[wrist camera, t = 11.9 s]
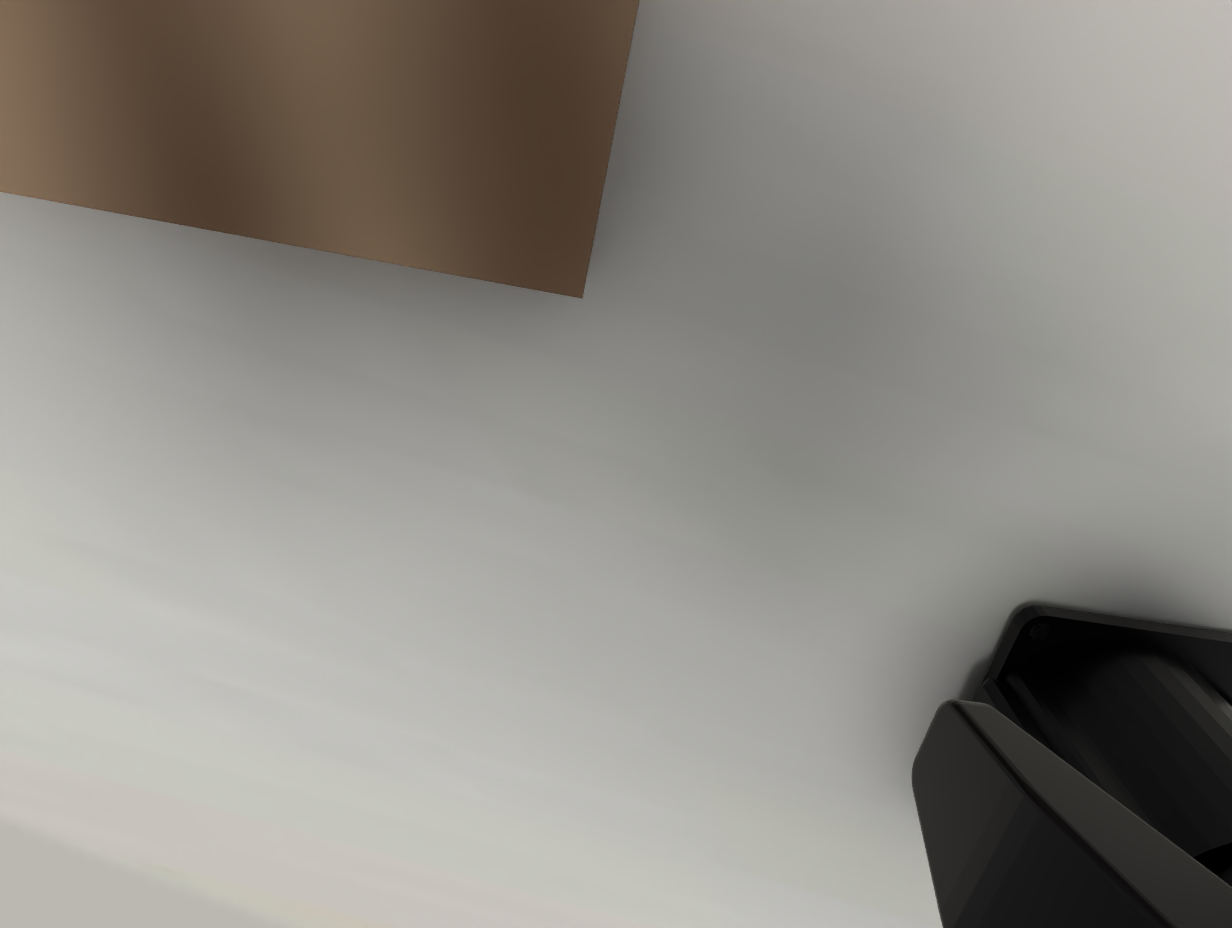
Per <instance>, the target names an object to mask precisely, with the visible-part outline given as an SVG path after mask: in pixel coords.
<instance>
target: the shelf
mask: <svg viewBox="0 0 1232 928" xmlns="http://www.w3.org/2000/svg"><path fill="white" fill-rule="evenodd" d="M638 4H639V0H0V192H5V193H11V194H16V195H22V196H27V197H33V198H38V199H44V200H49V201H54V202H60V203H65V204H71V205H76V206H82V207H87V208H93V209H98V210H104V211H109V212H114V213H120V214H125V215H131V216H136V217H142V218H147V219H153V220H158V221H163V222H169V223H174V224H180V225H185V226H191V227H196V228H202V229H207V230H212V231H218V232H223V233H229V234H234V235H240V236H245V237H251V238H256V239H262V240H267V241H272V242H278V243H283V244H289V245H294V246H300V247H305V248H311V249H316V250H321V251H327V252H332V253H338V254H343V255H349V256H354V257H360V258H365V259H370V260H376V261H381V262H387V263H392V264H398V265H403V266H409V267H414V268H420V269H425V270H430V271H436V272H441V273H447V274H452V275H458V276H463V277H469V278H474V279H479V280H485V281H490V282H496V283H501V284H507V285H512V286H518V287H523V288H528V289H534V290H539V291H545V292H550V293H556V294H561V295H567V296H572V297H578V298H582V297H583V292H584V287H585V282H586V276H587V271H588V266H589V261H590V255H591V250H592V245H593V240H594V234H595V229H596V224H597V219H598V213H599V208H600V203H601V198H602V192H603V187H604V182H605V177H606V171H607V166H608V161H609V156H610V150H611V145H612V140H613V135H614V129H615V124H616V119H617V114H618V108H619V103H620V98H621V93H622V87H623V82H624V77H625V72H626V67H627V61H628V56H629V51H630V46H631V40H632V35H633V30H634V25H635V19H636V14H637V9H638Z"/></svg>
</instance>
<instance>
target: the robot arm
mask: <svg viewBox="0 0 1232 928" xmlns="http://www.w3.org/2000/svg"><path fill="white" fill-rule="evenodd" d="M1038 624H1041V625H1040V627H1039V628H1038V629H1036V630H1034V631H1030V630H1031V629H1032V628H1033V627H1034V626H1036V625H1038ZM912 787H913V793H914V797H915V802H916V807H917V811H918V816H919V821H920V825H921V830H922V834H923V839H924V844H925V848H926V853H927V858H928V862H929V867H930V872H931V876H932V881H933V885H934V890H935V895H936V899H937V904H938V909H939V913H940V917H941V921H942V925H943V928H1232V634H1228V633H1221V632H1214V631H1208V630H1201V629H1194V628H1187V627H1181V626H1174V625H1167V624H1160V623H1153V622H1147V621H1140V620H1133V619H1126V618H1119V617H1113V616H1106V615H1099V614H1092V613H1086V612H1079V611H1072V610H1065V609H1058V608H1052V607H1045V606H1031V607H1028V608H1025V609H1023V610H1022V611H1020V612H1019V613H1018V614H1017V615H1016V616H1015V618H1014V619H1013V621H1012V623H1011V625H1010V627H1009V629H1008V631H1007V633H1006V635H1005V637H1004V639H1003V642H1002V644H1001V646H1000V648H999V650H998V652H997V654H996V656H995V658H994V660H993V662H992V665H991V667H990V669H989V671H988V673H987V675H986V677H985V679H984V681H983V683H982V685H981V686H980V687H979V690H978V692H977V694H976V696H975V698H974V700H973V702H972V701H964V700H956V699H950V700H947V701H945V702H943V703H942V704H941V705H940V706H939V708H938V710H937V711H936V713H935V716H934V718H933V720H932V722H931V724H930V727H929V729H928V731H927V733H926V735H925V738H924V740H923V742H922V744H921V746H920V748H919V751H918V753H917V755H916V757H915V760H914V763H913V768H912Z"/></svg>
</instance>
